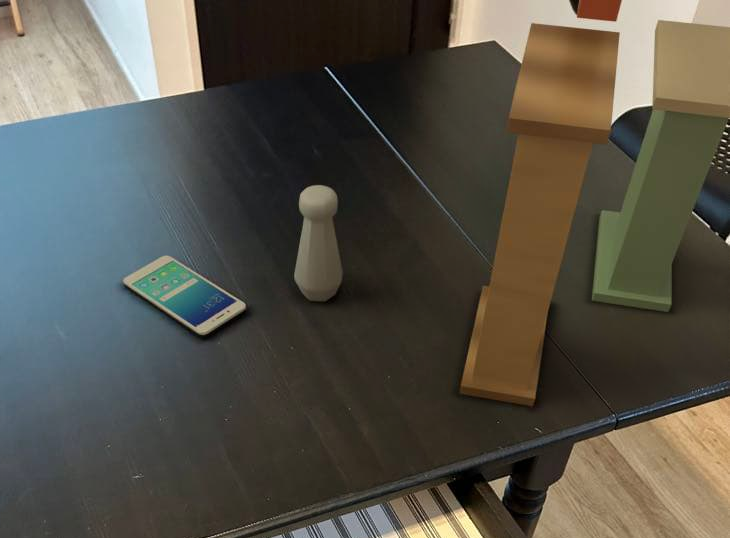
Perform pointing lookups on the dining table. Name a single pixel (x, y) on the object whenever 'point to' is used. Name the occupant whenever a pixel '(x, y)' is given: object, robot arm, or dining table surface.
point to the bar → (599, 9)
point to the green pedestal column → (666, 166)
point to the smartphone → (185, 296)
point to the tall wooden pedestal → (540, 201)
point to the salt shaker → (318, 245)
